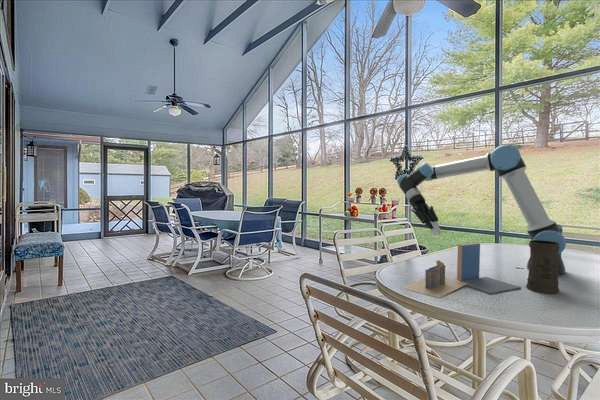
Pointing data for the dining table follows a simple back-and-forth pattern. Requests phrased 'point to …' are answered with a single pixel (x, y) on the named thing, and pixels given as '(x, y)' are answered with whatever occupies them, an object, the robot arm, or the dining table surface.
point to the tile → (468, 261)
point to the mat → (489, 285)
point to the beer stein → (543, 267)
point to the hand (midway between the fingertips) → (438, 233)
